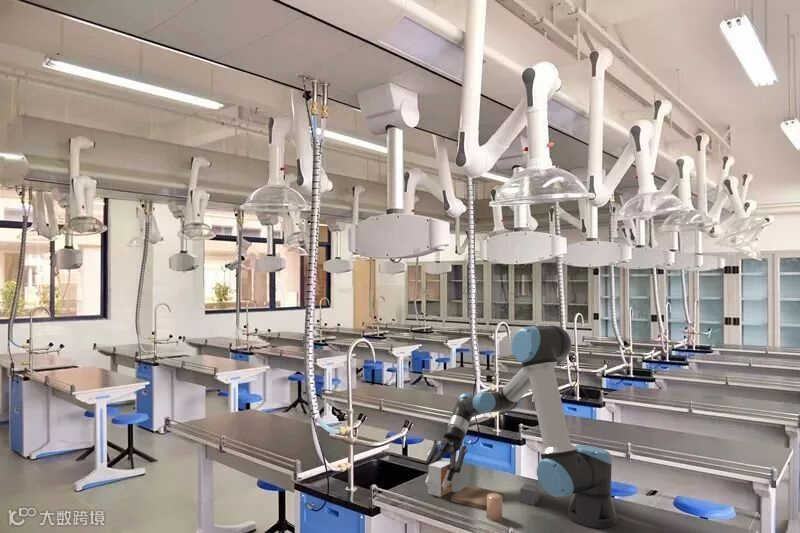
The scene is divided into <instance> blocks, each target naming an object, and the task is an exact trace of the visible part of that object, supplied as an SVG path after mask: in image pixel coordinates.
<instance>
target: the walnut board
mask: <svg viewBox="0 0 800 533" xmlns="http://www.w3.org/2000/svg"><path fill="white" fill-rule="evenodd" d="M492 493H495V494H499V495H501V496H502V499H504V492H499V491H495V490H491V489H487V488H482V487H479V486H475V485H470V484H467V485H466V486H464V487H463V488H462V489H460V490H459V491H458V492H456V493H455V494H453V495H451V497H450V502H452V503H456V504H460V505H464V506H469V507H471V508H472V507H473V508H476V509H480V510H484V511H487V495H488V494H492Z"/></svg>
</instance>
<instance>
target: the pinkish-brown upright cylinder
mask: <svg viewBox="0 0 800 533" xmlns="http://www.w3.org/2000/svg"><path fill="white" fill-rule="evenodd" d="M487 518H488V520H489V519H490V520H489V521H491V520H495V521H494V522H498V521H499V520H500V521H502V520H503V498H502V496H501V495H499V494H495V493H492V494H488V495H487V510H486V519H487ZM500 521H499V522H500Z"/></svg>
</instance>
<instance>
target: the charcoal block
mask: <svg viewBox="0 0 800 533" xmlns="http://www.w3.org/2000/svg"><path fill="white" fill-rule="evenodd" d="M539 490H540V486H537V485H532V484H527V483H525V484H523V485H522V486H521V487H520V494H519V496H520V497H519V498H520V499H519V500H520V501H519V502H520V503H523V504H526V503H527V504H526V505H530V504H531V506H536V504H537V503H539V501H540V500H539V498H540V495H539V494H540V491H539Z"/></svg>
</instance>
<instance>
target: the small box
mask: <svg viewBox="0 0 800 533" xmlns="http://www.w3.org/2000/svg"><path fill="white" fill-rule="evenodd" d="M428 468H429V470H428V469H427V471H428V475H427V476H428V486H427V488H428V489H427V493H428V495H432V496H436V497H439V498H442V497H443V496H445V495H446V494H449V493H451V492H452V491H453V483H452V482H453V479H452V480H451V481H449V482H448V485H447V488H446V490H444V489H443V488H442V483H443V480H444V478H445V475H446V472H447V470H450V469H449V468H450V461H446V460H442V459H441V460H439V461H437V462H435V463H433V464H430V465H429V466H428Z"/></svg>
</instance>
